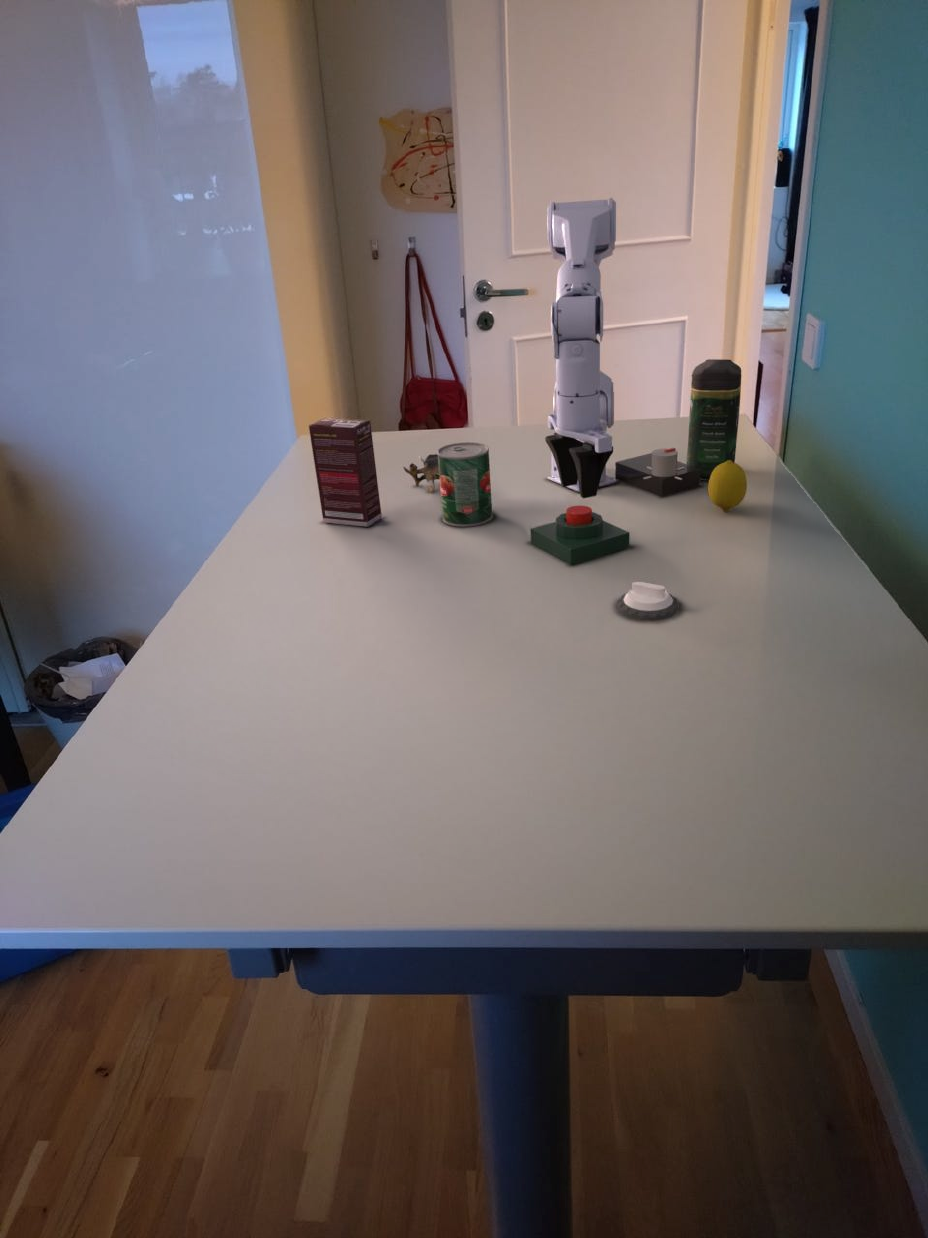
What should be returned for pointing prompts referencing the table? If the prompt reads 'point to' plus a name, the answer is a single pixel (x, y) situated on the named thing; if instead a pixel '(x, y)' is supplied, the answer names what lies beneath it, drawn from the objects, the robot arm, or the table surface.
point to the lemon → (727, 485)
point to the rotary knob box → (641, 476)
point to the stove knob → (648, 602)
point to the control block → (579, 539)
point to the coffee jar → (713, 415)
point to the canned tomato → (465, 484)
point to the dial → (664, 462)
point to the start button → (578, 515)
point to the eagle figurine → (426, 471)
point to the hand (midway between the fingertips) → (578, 490)
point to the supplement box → (346, 471)
